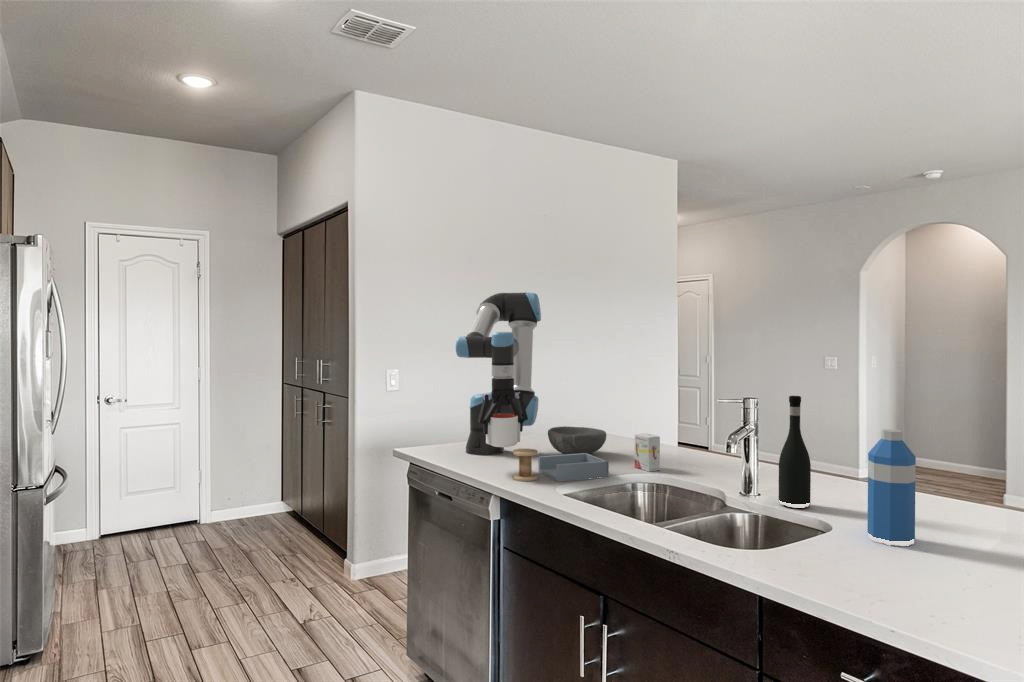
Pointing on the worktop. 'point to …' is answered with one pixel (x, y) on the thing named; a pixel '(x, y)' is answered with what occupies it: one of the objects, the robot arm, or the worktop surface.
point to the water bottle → (891, 488)
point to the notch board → (573, 467)
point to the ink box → (647, 452)
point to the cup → (504, 430)
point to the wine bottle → (794, 462)
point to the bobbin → (525, 465)
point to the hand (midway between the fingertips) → (503, 442)
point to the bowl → (576, 439)
